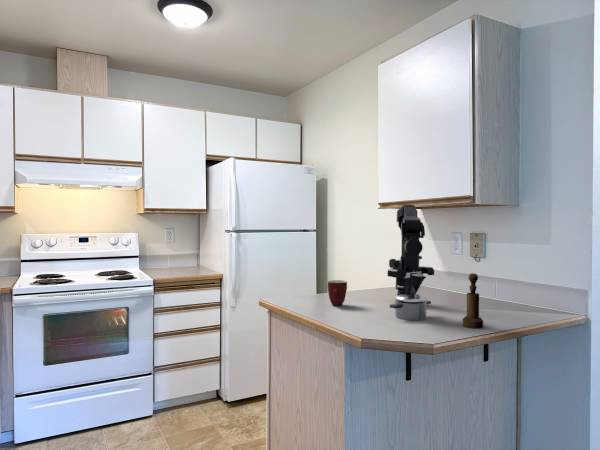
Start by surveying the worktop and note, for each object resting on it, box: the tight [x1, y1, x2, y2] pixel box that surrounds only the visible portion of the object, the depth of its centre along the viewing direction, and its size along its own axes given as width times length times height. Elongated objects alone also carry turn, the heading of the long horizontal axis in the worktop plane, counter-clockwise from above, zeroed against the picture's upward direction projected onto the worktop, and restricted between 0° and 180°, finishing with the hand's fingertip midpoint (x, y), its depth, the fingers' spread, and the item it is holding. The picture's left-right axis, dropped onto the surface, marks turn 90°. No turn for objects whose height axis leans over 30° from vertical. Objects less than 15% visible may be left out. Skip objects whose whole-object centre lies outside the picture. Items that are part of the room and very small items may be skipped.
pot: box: [389, 299, 432, 322], centre depth 159 cm, size 18×11×6 cm, turn 121°
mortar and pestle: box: [462, 272, 484, 329], centre depth 147 cm, size 7×6×18 cm
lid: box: [394, 285, 428, 302], centre depth 159 cm, size 12×12×5 cm
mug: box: [327, 279, 348, 307], centre depth 179 cm, size 10×8×10 cm
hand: (410, 295), depth 159 cm, fingers closed on lid, 3 cm apart
